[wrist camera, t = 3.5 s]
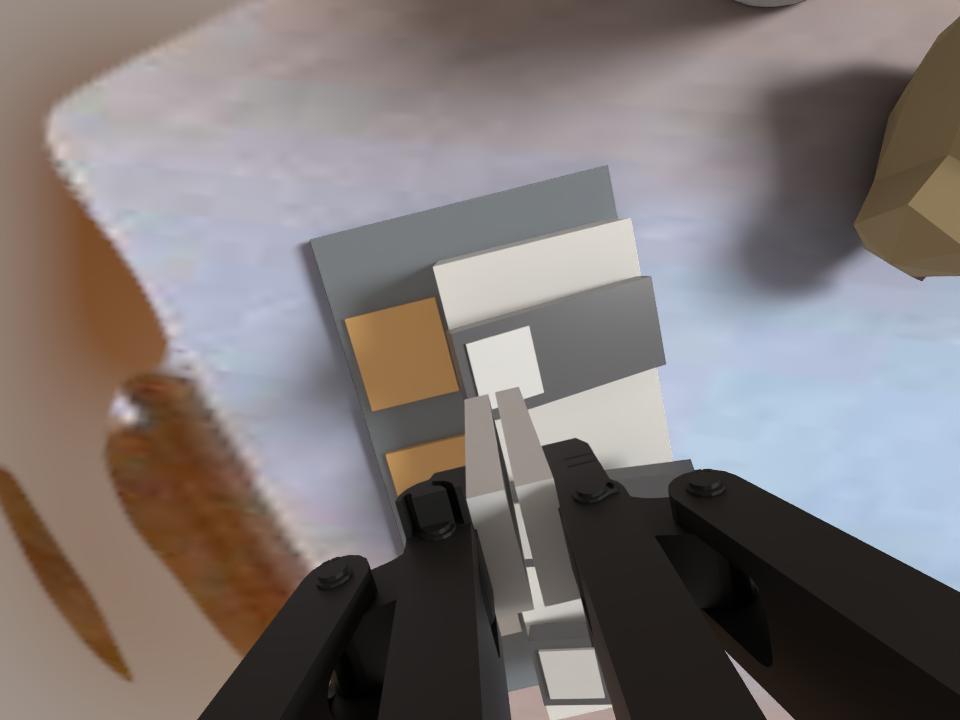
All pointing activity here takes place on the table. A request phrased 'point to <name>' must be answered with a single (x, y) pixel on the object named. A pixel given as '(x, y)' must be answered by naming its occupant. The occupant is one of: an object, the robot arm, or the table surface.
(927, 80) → the low-poly potato
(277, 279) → the table surface
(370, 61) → the table surface
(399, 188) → the table surface
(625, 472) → the middle rocker
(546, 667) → the block
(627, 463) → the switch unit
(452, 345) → the block
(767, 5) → the food can
